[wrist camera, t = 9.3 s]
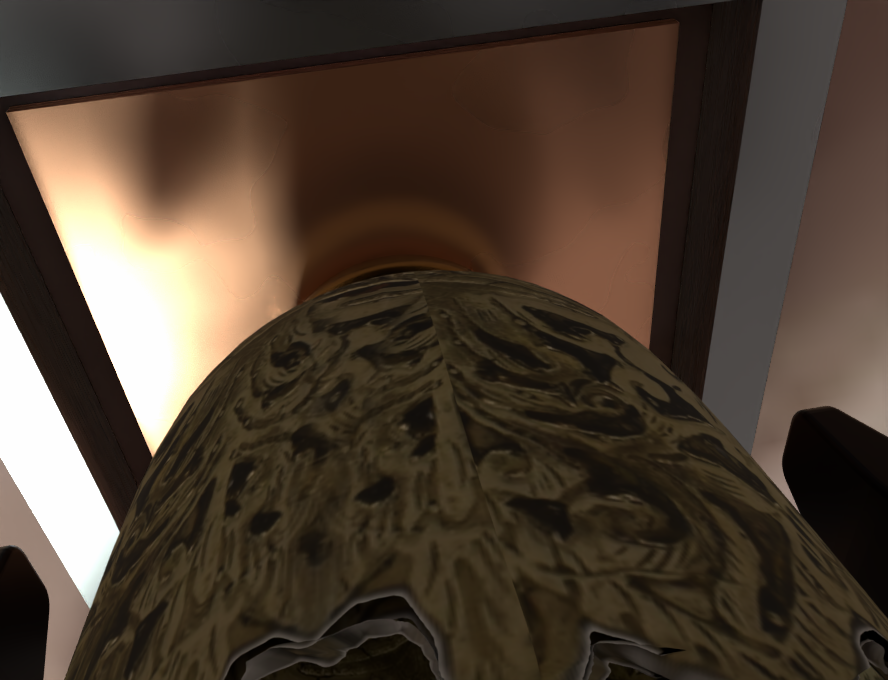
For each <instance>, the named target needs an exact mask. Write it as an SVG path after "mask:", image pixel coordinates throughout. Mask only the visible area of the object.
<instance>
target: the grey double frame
mask: <svg viewBox="0 0 888 680" xmlns="http://www.w3.org/2000/svg"><path fill="white" fill-rule="evenodd" d="M710 3H713V12H712V20H711V29H710V37H709V46H708V54H707V63H706V72H705V80H704V89H703V97H702V106H701V114H700V123H699V131H698V140H697V149H696V157H695V166H694V174H693V183H692V191H691V200H690V208H689V217H688V226H687V234H686V243H685V251H684V260H683V268H682V277H681V285H680V294H679V303H678V311H677V320H676V328H675V337H674V345H673V354H672V362H671V371H672V372H673V373H674V374H675V375H676V376H677V377H678V378H679V379H680V380H681V381H682V382H683V383H684V384H685V385H686V386H687V387H688V388H690V389H691V390H692V391H693V392H694V393H695V394H696V395H697V396H698V397H699V399H700V400H701V401H702V402H703V403H704V404H705V405H706V406H707V407H708V408H709V409H710V411H711V412H712V413H713V414H714V415H715V416H716V417H717V418H718V419H719V420H720V421H721V423H722V424H723V425H724V426H725V427H726V428H727V429H728V430H729V431H730V433H731V434H732V435H733V436H734V437H735V438H736V440H737V441H738V442H739V443H740V444H741V445H742V446H743V448H744V449H745V450H746V451H747V452H748V453H749V455H750V456H751V451H752V447H753V442H754V437H755V433H756V428H757V423H758V418H759V414H760V409H761V404H762V400H763V395H764V390H765V386H766V381H767V376H768V371H769V367H770V362H771V357H772V353H773V348H774V343H775V339H776V334H777V329H778V324H779V320H780V315H781V310H782V306H783V301H784V296H785V292H786V287H787V282H788V277H789V273H790V268H791V263H792V259H793V254H794V249H795V245H796V240H797V235H798V230H799V226H800V221H801V216H802V212H803V207H804V202H805V198H806V193H807V188H808V183H809V179H810V174H811V169H812V165H813V160H814V155H815V151H816V146H817V141H818V136H819V132H820V127H821V122H822V118H823V113H824V108H825V104H826V99H827V94H828V89H829V85H830V80H831V75H832V71H833V66H834V61H835V57H836V52H837V47H838V42H839V38H840V33H841V28H842V24H843V19H844V14H845V10H846V5H847V0H0V97H4V96H12V95H19V94H27V93H35V92H42V91H50V90H57V89H65V88H72V87H80V86H88V85H95V84H103V83H110V82H118V81H126V80H133V79H141V78H148V77H156V76H163V75H171V74H179V73H186V72H194V71H201V70H209V69H217V68H224V67H232V66H239V65H247V64H255V63H262V62H270V61H277V60H285V59H292V58H300V57H308V56H315V55H323V54H330V53H338V52H346V51H353V50H361V49H368V48H376V47H383V46H391V45H399V44H406V43H414V42H421V41H429V40H437V39H444V38H452V37H459V36H467V35H474V34H482V33H490V32H497V31H505V30H512V29H520V28H528V27H535V26H543V25H550V24H558V23H566V22H573V21H581V20H588V19H596V18H603V17H611V16H619V15H626V14H634V13H641V12H649V11H657V10H664V9H672V8H679V7H687V6H694V5H702V4H710ZM679 25H680V23H679V22H678V21H676V20H675V19H674V18H672V19H665V20H657V21H650V22H642V23H635V24H627V25H619V26H612V27H604V28H597V29H589V30H582V31H574V32H567V33H559V34H552V35H544V36H537V37H529V38H522V39H514V40H506V41H499V42H491V43H484V44H476V45H469V46H461V47H454V48H446V49H439V50H431V51H424V52H416V53H409V54H401V55H394V56H386V57H378V58H371V59H363V60H356V61H348V62H341V63H333V64H326V65H318V66H311V67H303V68H296V69H288V70H281V71H273V72H265V73H258V74H250V75H243V76H235V77H228V78H220V79H213V80H205V81H198V82H190V83H183V84H175V85H168V86H160V87H152V88H145V89H137V90H130V91H122V92H115V93H107V94H100V95H92V96H85V97H77V98H70V99H62V100H55V101H47V102H40V103H32V104H24V105H17V106H11V107H10V108H9V109H8V111H7V112H6V114H7V116H8V118H9V121H10V123H11V125H12V128H13V130H14V132H15V135H16V137H17V139H18V142H19V144H20V147H21V149H22V151H23V154H24V156H25V158H26V161H27V163H28V165H29V168H30V170H31V172H32V175H33V177H34V179H35V182H36V184H37V187H38V189H39V191H40V194H41V196H42V198H43V201H44V203H45V205H46V208H47V210H48V212H49V215H50V217H51V219H52V222H53V224H54V226H55V229H56V231H57V234H58V236H59V238H60V241H61V243H62V245H63V248H64V250H65V252H66V255H67V257H68V259H69V262H70V264H71V266H72V269H73V271H74V274H75V276H76V278H77V281H78V283H79V285H80V288H81V290H82V292H83V295H84V297H85V299H86V302H87V304H88V306H89V309H90V311H91V313H92V316H93V318H94V321H95V323H96V325H97V328H98V330H99V332H100V335H101V337H102V339H103V342H104V344H105V346H106V349H107V351H108V353H109V356H110V358H111V361H112V363H113V365H114V368H115V370H116V372H117V375H118V377H119V379H120V382H121V384H122V386H123V389H124V391H125V393H126V396H127V398H128V400H129V403H130V405H131V408H132V410H133V412H134V415H135V417H136V419H137V422H138V424H139V426H140V429H141V431H142V433H143V436H144V438H145V440H146V443H147V445H148V448H149V450H150V452H151V455H152V457H153V456H154V454H155V452H156V450H157V448H158V447H159V445H160V443H161V442H162V440H163V439H164V437H165V435H166V434H167V432H168V431H169V429H170V427H171V426H172V424H173V422H174V421H175V419H176V418H177V416H178V414H179V413H180V411H181V410H182V408H183V406H184V405H185V403H186V402H187V400H188V399H189V397H190V396H191V395H192V394H193V392H194V391H195V390H196V389H197V387H198V386H199V385H200V384H201V383H202V381H203V380H204V379H205V378H206V377H207V375H208V374H209V373H210V372H211V371H212V370H213V369H214V368H215V367H216V366H217V365H218V364H219V363H220V362H222V361H223V360H224V359H225V358H226V357H227V356H228V355H229V354H230V353H231V352H232V351H233V350H234V349H235V348H236V347H237V346H238V345H239V344H240V343H242V342H243V341H244V340H245V339H246V338H248V337H249V336H250V335H252V334H253V333H254V332H256V331H257V330H258V329H260V328H261V327H262V326H264V325H265V324H266V323H268V322H270V321H271V320H273V319H275V318H276V317H278V316H280V315H281V314H283V313H285V312H286V311H288V310H290V309H291V308H293V307H296V306H298V305H300V304H302V303H303V302H304V300H305V299H306V298H307V297H308V296H309V295H310V294H311V293H312V292H313V291H314V290H315V289H316V288H318V287H319V286H320V285H321V284H323V283H324V282H325V281H327V280H328V279H329V278H331V277H332V276H334V275H336V274H337V273H339V272H341V271H342V270H344V269H347V268H349V267H351V266H353V265H355V264H358V263H361V262H364V261H367V260H370V259H374V258H378V257H384V256H390V255H403V254H413V255H426V256H432V257H437V258H441V259H445V260H449V261H452V262H454V263H457V264H459V265H462V266H464V267H466V268H468V269H470V270H472V271H474V272H480V273H487V274H494V275H501V276H507V277H511V278H514V279H518V280H522V281H526V282H530V283H534V284H536V285H539V286H541V287H544V288H547V289H549V290H552V291H554V292H557V293H559V294H562V295H564V296H566V297H568V298H570V299H573V300H575V301H577V302H579V303H581V304H583V305H585V306H587V307H588V308H590V309H592V310H594V311H596V312H598V313H600V314H602V315H603V316H605V317H606V318H607V319H609V320H610V321H612V322H613V323H614V324H616V325H617V326H619V327H620V328H621V329H623V330H624V331H626V332H627V333H628V334H629V335H631V336H632V337H633V338H635V339H636V340H637V341H639V342H640V343H641V344H642V345H644V346H645V347H646V348H648V349H649V344H650V334H651V323H652V312H653V302H654V291H655V280H656V270H657V259H658V248H659V238H660V227H661V216H662V206H663V195H664V185H665V174H666V163H667V153H668V142H669V131H670V121H671V110H672V99H673V89H674V78H675V67H676V57H677V46H678V35H679ZM0 457H1V458H2V460H3V462H4V464H5V465H6V467H7V469H8V470H9V472H10V474H11V475H12V477H13V479H14V481H15V482H16V484H17V486H18V487H19V489H20V491H21V492H22V494H23V496H24V498H25V499H26V501H27V503H28V504H29V506H30V508H31V509H32V511H33V513H34V515H35V516H36V518H37V520H38V521H39V523H40V525H41V526H42V528H43V530H44V532H45V533H46V535H47V537H48V538H49V540H50V542H51V544H52V545H53V547H54V549H55V550H56V552H57V554H58V555H59V557H60V559H61V561H62V562H63V564H64V566H65V567H66V569H67V571H68V572H69V574H70V576H71V578H72V579H73V581H74V583H75V584H76V586H77V588H78V589H79V591H80V593H81V595H82V596H83V598H84V600H85V601H86V603H87V605H88V607H89V608H91V606H92V603H93V600H94V598H95V595H96V592H97V590H98V587H99V584H100V582H101V579H102V576H103V574H104V571H105V568H106V566H107V563H108V560H109V558H110V555H111V553H112V550H113V548H114V545H115V543H116V540H117V538H118V535H119V533H120V531H121V528H122V526H123V523H124V521H125V518H126V516H127V513H128V511H129V509H130V506H131V504H132V502H133V499H134V497H135V495H136V492H137V490H138V487H137V485H136V483H135V480H134V478H133V476H132V474H131V472H130V469H129V467H128V465H127V463H126V461H125V459H124V456H123V454H122V452H121V450H120V448H119V445H118V443H117V441H116V439H115V437H114V434H113V432H112V430H111V428H110V426H109V423H108V421H107V419H106V417H105V415H104V412H103V410H102V408H101V406H100V404H99V401H98V399H97V397H96V395H95V393H94V391H93V388H92V386H91V384H90V382H89V380H88V377H87V375H86V373H85V371H84V369H83V366H82V364H81V362H80V360H79V358H78V355H77V353H76V351H75V349H74V347H73V344H72V342H71V340H70V338H69V336H68V334H67V331H66V329H65V327H64V325H63V323H62V320H61V318H60V316H59V314H58V312H57V309H56V307H55V305H54V303H53V301H52V298H51V296H50V294H49V292H48V290H47V287H46V285H45V283H44V281H43V279H42V276H41V274H40V272H39V270H38V268H37V266H36V263H35V261H34V259H33V257H32V255H31V252H30V250H29V248H28V246H27V244H26V241H25V239H24V237H23V235H22V233H21V230H20V228H19V226H18V224H17V222H16V219H15V217H14V215H13V213H12V211H11V208H10V206H9V204H8V202H7V200H6V198H5V195H4V193H3V191H2V189H1V187H0Z"/></svg>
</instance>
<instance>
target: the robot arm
mask: <svg viewBox="0 0 888 680" xmlns="http://www.w3.org/2000/svg"><path fill="white" fill-rule="evenodd" d="M782 467H783V473H784V476H785V479H786V482H787V484H788V486H789V489H790V491H791V493H792V496H793V498H794V500H795V503H796V505H797V507H798V510H799V512H800V514H801V516H802V517H803V518H804V519H805V520H806V522H807V523H808V524H809V525H810V526H811V527H812V529H813V530H814V531H815V532H816V533H817V535H818V536H819V537H820V538H821V539H822V541H823V542H824V543H825V544H826V545H827V547H828V548H829V549H830V550H831V551H832V552H833V554H834V555H835V556H836V557H837V558H838V560H839V561H840V562H841V563H842V564H843V566H844V567H845V568H846V569H847V570H848V572H849V573H850V574H851V575H852V576H853V578H854V579H855V580H856V581H857V582H858V584H859V585H860V586H861V587H862V588H863V590H864V591H865V592H866V593H867V594H868V596H869V597H870V598H871V599H872V600H873V602H874V603H875V604H876V605H877V606H878V608H879V609H880V610H881V611H882V612H883V614H884V615H885V616H886V617H887V618H888V437H887V436H885V435H884V434H882V433H880V432H878V431H876V430H875V429H873V428H871V427H869V426H867V425H866V424H864V423H862V422H860V421H858V420H857V419H855V418H853V417H851V416H849V415H848V414H846V413H844V412H842V411H840V410H839V409H836V408H834V407H831V406H822V407H816V408H810V409H805V410H800V411H798V412H797V413H796V414H795V415H794V416H793V418H792V421H791V425H790V429H789V433H788V437H787V441H786V445H785V449H784V453H783V458H782ZM48 620H49V597H48V593H47V590H46V588H45V586H44V584H43V582H42V581H41V579H40V578H39V576H38V574H37V573H36V571H35V570H34V568H33V566H32V565H31V563H30V562H29V560H28V558H27V557H26V555H25V554H24V552H23V551H22V550H21V549H20V548H19V547H17V546H12V545H9V546H4V547H0V680H43V678H44V666H45V655H46V643H47V631H48Z"/></svg>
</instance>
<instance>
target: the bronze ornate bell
mask: <svg viewBox="0 0 888 680" xmlns="http://www.w3.org/2000/svg"><path fill="white" fill-rule="evenodd" d="M64 680H888V618H887V617H886V616H885V615H884V614H883V612H882V611H881V610H880V609H879V608H878V606H877V605H876V604H875V603H874V602H873V600H872V599H871V598H870V597H869V596H868V594H867V593H866V592H865V591H864V590H863V588H862V587H861V586H860V585H859V584H858V582H857V581H856V580H855V579H854V578H853V576H852V575H851V574H850V573H849V572H848V570H847V569H846V568H845V567H844V566H843V564H842V563H841V562H840V561H839V560H838V558H837V557H836V556H835V555H834V554H833V552H832V551H831V550H830V549H829V548H828V547H827V545H826V544H825V543H824V542H823V541H822V539H821V538H820V537H819V536H818V535H817V533H816V532H815V531H814V530H813V529H812V527H811V526H810V525H809V524H808V523H807V522H806V520H805V519H804V518H803V517H802V516H801V514H800V513H799V512H798V511H797V510H796V508H795V507H794V506H793V505H792V504H791V503H790V501H789V500H788V499H787V498H786V497H785V495H784V494H783V493H782V492H781V491H780V490H779V488H778V487H777V486H776V485H775V484H774V483H773V481H772V480H771V479H770V478H769V477H768V476H767V474H766V473H765V472H764V471H763V470H762V468H761V467H760V466H759V465H758V464H757V463H756V462H755V460H754V459H753V458H752V457H751V456H750V455H749V453H748V452H747V451H746V450H745V449H744V448H743V446H742V445H741V444H740V443H739V442H738V441H737V440H736V438H735V437H734V436H733V435H732V434H731V433H730V431H729V430H728V429H727V428H726V427H725V426H724V425H723V424H722V423H721V421H720V420H719V419H718V418H717V417H716V416H715V415H714V414H713V413H712V412H711V411H710V409H709V408H708V407H707V406H706V405H705V404H704V403H703V402H702V401H701V400H700V399H699V397H698V396H697V395H696V394H695V393H694V392H693V391H692V390H691V389H690V388H688V387H687V386H686V385H685V384H684V383H683V382H682V381H681V380H680V379H679V378H678V377H677V376H676V375H675V374H674V373H673V372H672V371H671V370H670V369H669V368H668V367H667V366H666V365H665V364H664V363H663V362H661V361H660V360H659V359H658V358H657V357H656V356H655V355H654V354H653V353H652V352H651V351H650V350H649V349H648V348H646V347H645V346H644V345H642V344H641V343H640V342H639V341H637V340H636V339H635V338H633V337H632V336H631V335H629V334H628V333H627V332H626V331H624V330H623V329H621V328H620V327H619V326H617V325H616V324H614V323H613V322H612V321H610V320H609V319H607V318H606V317H605V316H603V315H602V314H600V313H598V312H596V311H594V310H592V309H590V308H588V307H587V306H585V305H583V304H581V303H579V302H577V301H575V300H573V299H570V298H568V297H566V296H564V295H562V294H559V293H557V292H554V291H552V290H549V289H547V288H544V287H541V286H539V285H536V284H534V283H530V282H526V281H522V280H518V279H514V278H511V277H507V276H501V275H494V274H487V273H480V272H474V271H472V270H470V269H468V268H466V267H464V266H462V265H459V264H457V263H454V262H452V261H449V260H445V259H441V258H437V257H432V256H426V255H413V254H403V255H390V256H384V257H378V258H374V259H370V260H367V261H364V262H361V263H358V264H355V265H353V266H351V267H349V268H347V269H344V270H342V271H341V272H339V273H337V274H336V275H334V276H332V277H331V278H329V279H328V280H327V281H325V282H324V283H323V284H321V285H320V286H319V287H318V288H316V289H315V290H314V291H313V292H312V293H311V294H310V295H309V296H308V297H307V298H306V299H305V300H304V302H303V303H302V304H300V305H298V306H296V307H293V308H291V309H290V310H288V311H286V312H285V313H283V314H281V315H280V316H278V317H276V318H275V319H273V320H271V321H270V322H268V323H266V324H265V325H264V326H262V327H261V328H260V329H258V330H257V331H256V332H254V333H253V334H252V335H250V336H249V337H248V338H246V339H245V340H244V341H243V342H242V343H240V344H239V345H238V346H237V347H236V348H235V349H234V350H233V351H232V352H231V353H230V354H229V355H228V356H227V357H226V358H225V359H224V360H223V361H222V362H220V363H219V364H218V365H217V366H216V367H215V368H214V369H213V370H212V371H211V372H210V373H209V374H208V375H207V377H206V378H205V379H204V380H203V381H202V383H201V384H200V385H199V386H198V387H197V389H196V390H195V391H194V392H193V394H192V395H191V396H190V397H189V399H188V400H187V402H186V403H185V405H184V406H183V408H182V410H181V411H180V413H179V414H178V416H177V418H176V419H175V421H174V422H173V424H172V426H171V427H170V429H169V431H168V432H167V434H166V435H165V437H164V439H163V440H162V442H161V443H160V445H159V447H158V448H157V450H156V452H155V454H154V456H153V458H152V460H151V463H150V465H149V467H148V469H147V471H146V473H145V475H144V477H143V479H142V481H141V483H140V485H139V488H138V490H137V492H136V495H135V497H134V499H133V502H132V504H131V506H130V509H129V511H128V513H127V516H126V518H125V521H124V523H123V526H122V528H121V531H120V533H119V535H118V538H117V540H116V543H115V545H114V548H113V550H112V553H111V555H110V558H109V560H108V563H107V566H106V568H105V571H104V574H103V576H102V579H101V582H100V584H99V587H98V590H97V592H96V595H95V598H94V600H93V603H92V606H91V608H90V611H89V614H88V616H87V619H86V622H85V625H84V627H83V630H82V633H81V636H80V638H79V641H78V644H77V646H76V649H75V652H74V655H73V657H72V660H71V663H70V666H69V668H68V671H67V674H66V677H65V679H64Z"/></svg>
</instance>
